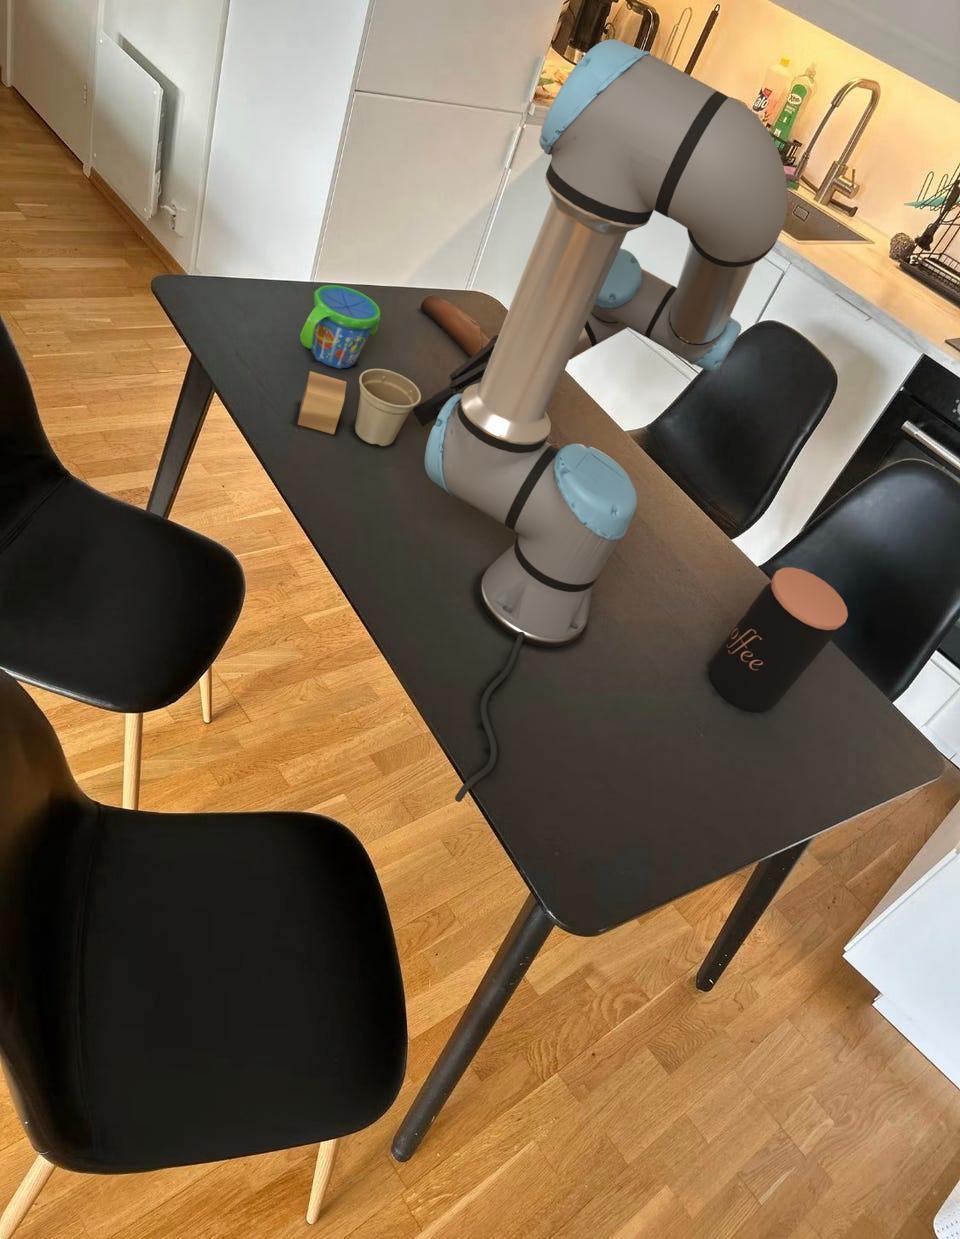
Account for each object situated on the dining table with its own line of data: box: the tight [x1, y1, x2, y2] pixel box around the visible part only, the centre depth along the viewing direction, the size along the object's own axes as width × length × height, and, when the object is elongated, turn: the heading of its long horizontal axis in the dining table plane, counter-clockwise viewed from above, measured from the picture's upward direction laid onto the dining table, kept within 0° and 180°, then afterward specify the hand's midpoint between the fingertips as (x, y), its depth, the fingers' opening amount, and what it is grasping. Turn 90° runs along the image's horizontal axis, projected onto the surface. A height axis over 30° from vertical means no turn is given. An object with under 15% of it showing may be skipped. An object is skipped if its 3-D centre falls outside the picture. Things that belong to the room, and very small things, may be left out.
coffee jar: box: [708, 566, 849, 713], centre depth 131 cm, size 11×11×18 cm
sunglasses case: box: [420, 295, 491, 358], centre depth 181 cm, size 18×7×7 cm
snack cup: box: [299, 284, 381, 370], centre depth 158 cm, size 16×10×10 cm
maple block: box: [297, 370, 347, 435], centre depth 145 cm, size 6×6×6 cm
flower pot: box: [354, 368, 422, 447], centre depth 146 cm, size 9×9×9 cm
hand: (417, 417), depth 149 cm, fingers closed
